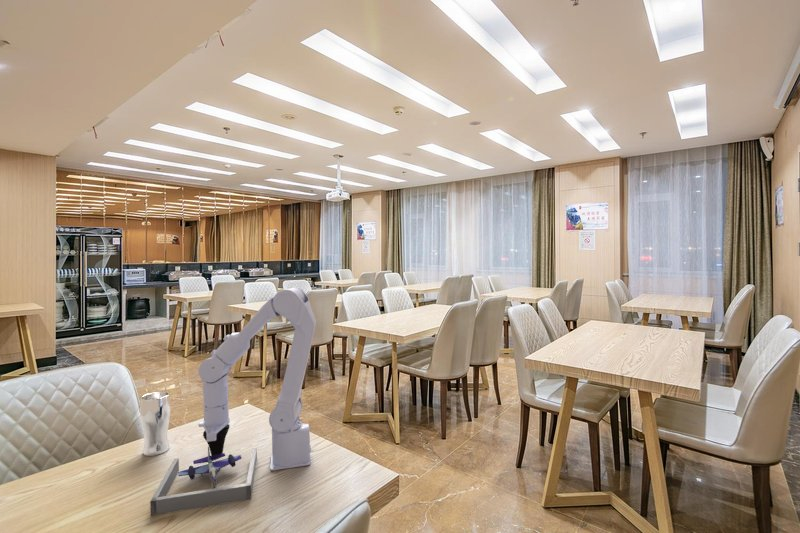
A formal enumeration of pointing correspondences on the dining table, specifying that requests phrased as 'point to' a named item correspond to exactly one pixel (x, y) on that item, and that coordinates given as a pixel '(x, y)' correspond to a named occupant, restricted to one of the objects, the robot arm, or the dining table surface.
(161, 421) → the silver metal cup
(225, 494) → the airplane jig
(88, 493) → the dining table surface
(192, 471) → the toy airplane
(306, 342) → the robot arm
